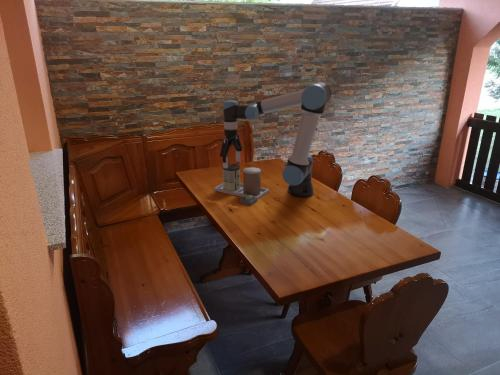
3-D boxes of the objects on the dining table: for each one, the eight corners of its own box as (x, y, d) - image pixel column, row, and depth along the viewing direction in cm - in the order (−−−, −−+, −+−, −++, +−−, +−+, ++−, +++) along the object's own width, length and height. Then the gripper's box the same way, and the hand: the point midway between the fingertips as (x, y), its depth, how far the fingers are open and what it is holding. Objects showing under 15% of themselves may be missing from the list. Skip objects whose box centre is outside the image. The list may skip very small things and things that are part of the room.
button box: (257, 202, 203) (257, 197, 202) (251, 207, 198) (251, 201, 197) (246, 200, 207) (246, 195, 206) (240, 204, 201) (240, 199, 200)
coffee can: (223, 185, 225) (223, 163, 220) (240, 185, 225) (240, 163, 220) (222, 191, 216) (221, 168, 210) (239, 192, 215) (239, 169, 210)
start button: (253, 200, 202) (253, 195, 201) (250, 202, 199) (250, 197, 198) (247, 199, 204) (247, 194, 203) (243, 201, 201) (243, 196, 200)
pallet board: (269, 193, 217) (269, 189, 216) (256, 201, 205) (256, 197, 204) (228, 184, 230) (227, 180, 229) (214, 191, 218) (214, 187, 217)
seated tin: (263, 192, 216) (264, 169, 211) (255, 197, 207) (255, 174, 202) (248, 188, 220) (248, 166, 215) (239, 194, 212) (239, 171, 207)
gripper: (236, 124, 219) (237, 158, 227) (212, 132, 199) (214, 169, 207) (247, 125, 216) (248, 160, 223) (223, 133, 196) (225, 171, 203)
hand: (231, 164), depth 215 cm, fingers open, 13 cm apart
